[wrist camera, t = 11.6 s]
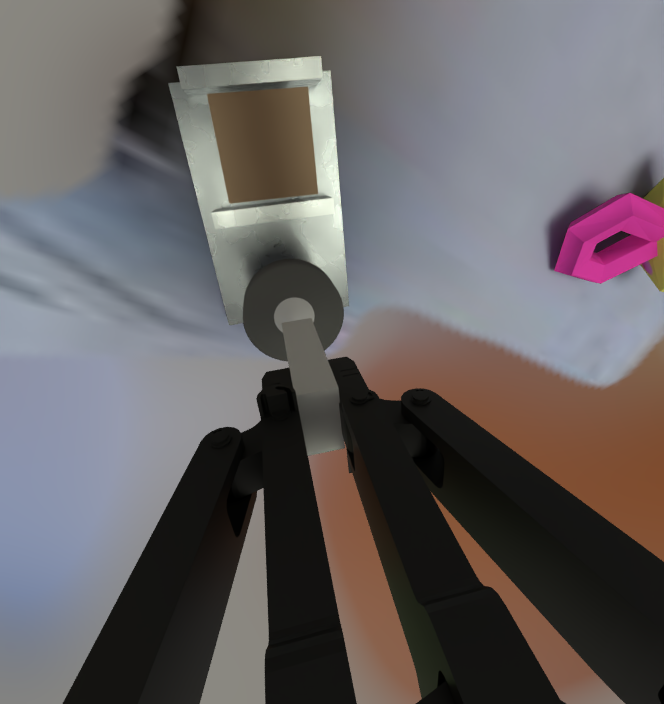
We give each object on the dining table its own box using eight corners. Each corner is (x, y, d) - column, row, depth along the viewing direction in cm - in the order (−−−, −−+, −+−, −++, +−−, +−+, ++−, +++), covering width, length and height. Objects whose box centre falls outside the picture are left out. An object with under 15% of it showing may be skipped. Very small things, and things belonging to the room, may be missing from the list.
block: (296, 104, 24) (308, 86, 18) (305, 188, 26) (318, 193, 21) (217, 110, 23) (206, 93, 18) (234, 196, 25) (229, 203, 20)
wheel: (328, 247, 24) (339, 259, 20) (336, 330, 26) (347, 352, 23) (235, 260, 23) (232, 275, 20) (253, 344, 26) (253, 369, 23)
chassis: (324, 72, 25) (338, 54, 21) (343, 298, 32) (356, 316, 28) (173, 84, 23) (157, 68, 20) (230, 316, 31) (227, 338, 27)
